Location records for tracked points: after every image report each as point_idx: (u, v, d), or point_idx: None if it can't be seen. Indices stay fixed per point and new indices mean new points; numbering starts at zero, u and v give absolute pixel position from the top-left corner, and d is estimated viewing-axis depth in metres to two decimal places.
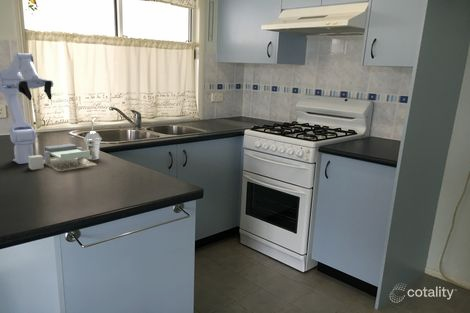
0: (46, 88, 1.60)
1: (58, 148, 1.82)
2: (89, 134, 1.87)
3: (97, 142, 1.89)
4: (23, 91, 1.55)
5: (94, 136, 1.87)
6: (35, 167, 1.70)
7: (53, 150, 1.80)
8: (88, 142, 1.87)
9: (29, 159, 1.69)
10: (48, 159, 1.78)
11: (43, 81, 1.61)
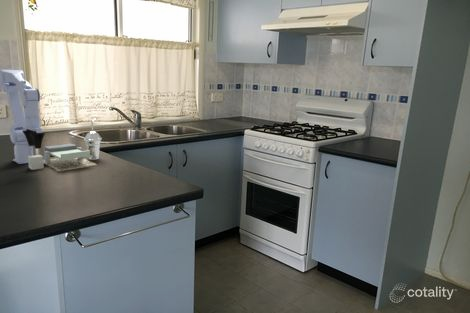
0: None
1: (58, 148, 1.82)
2: (89, 134, 1.87)
3: (97, 142, 1.89)
4: None
5: (94, 136, 1.87)
6: (35, 167, 1.70)
7: (53, 150, 1.80)
8: (88, 142, 1.87)
9: (29, 159, 1.69)
10: (48, 159, 1.78)
11: (33, 129, 1.65)
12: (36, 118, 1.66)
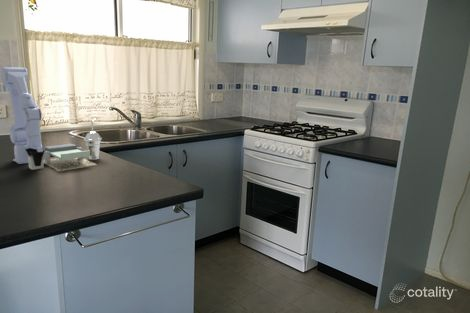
0: None
1: (58, 148, 1.82)
2: (89, 134, 1.87)
3: (97, 142, 1.89)
4: None
5: (94, 136, 1.87)
6: (35, 167, 1.70)
7: (53, 150, 1.80)
8: (88, 142, 1.87)
9: (29, 159, 1.69)
10: (48, 159, 1.78)
11: None
12: (37, 137, 1.67)
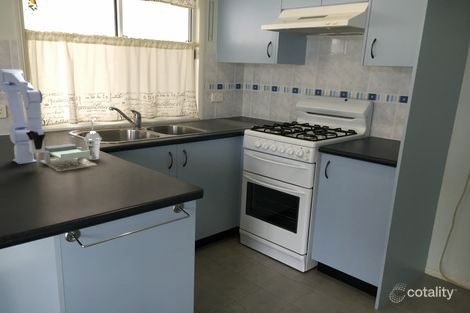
0: None
1: (58, 148, 1.82)
2: (89, 134, 1.87)
3: (97, 142, 1.89)
4: None
5: (94, 136, 1.87)
6: (36, 151, 1.68)
7: (53, 150, 1.80)
8: (88, 142, 1.87)
9: (30, 143, 1.68)
10: (48, 159, 1.78)
11: None
12: (38, 120, 1.66)
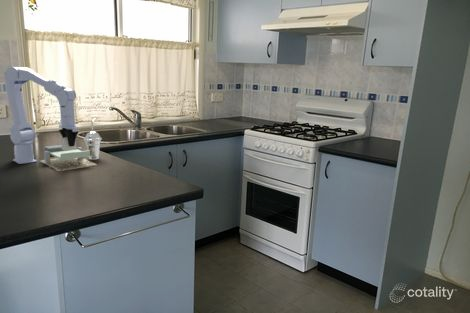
0: None
1: (58, 148, 1.82)
2: (89, 134, 1.87)
3: (97, 142, 1.89)
4: None
5: (94, 136, 1.87)
6: (68, 148, 1.73)
7: (53, 150, 1.80)
8: (88, 142, 1.87)
9: (62, 140, 1.72)
10: (48, 159, 1.78)
11: None
12: (72, 117, 1.70)
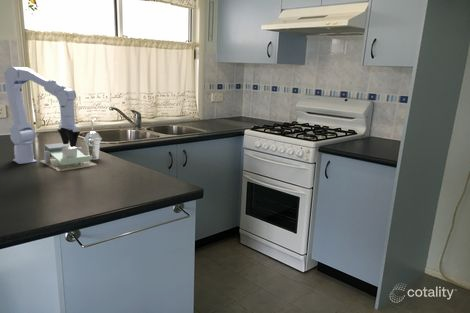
0: None
1: (58, 148, 1.82)
2: (89, 134, 1.87)
3: (97, 142, 1.89)
4: (66, 132, 1.78)
5: (94, 136, 1.87)
6: None
7: (53, 150, 1.80)
8: (88, 142, 1.87)
9: (64, 150, 1.73)
10: (48, 159, 1.78)
11: None
12: (72, 117, 1.70)
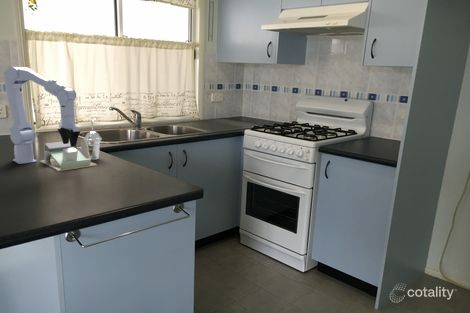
0: None
1: (58, 148, 1.81)
2: (89, 134, 1.87)
3: (97, 142, 1.89)
4: None
5: (94, 136, 1.87)
6: None
7: (53, 150, 1.80)
8: (88, 142, 1.87)
9: (64, 153, 1.73)
10: (48, 159, 1.78)
11: (69, 128, 1.70)
12: (72, 117, 1.71)
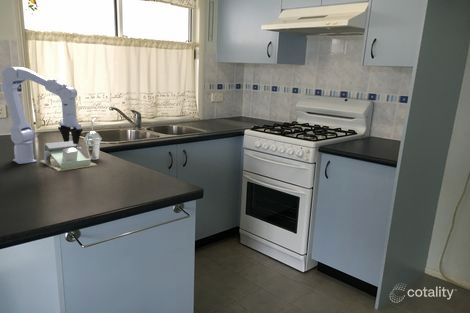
0: None
1: (58, 148, 1.81)
2: (89, 134, 1.87)
3: (97, 142, 1.89)
4: None
5: (94, 136, 1.87)
6: None
7: (53, 150, 1.80)
8: (88, 142, 1.87)
9: (64, 153, 1.73)
10: (48, 159, 1.78)
11: (72, 125, 1.73)
12: (74, 115, 1.74)
